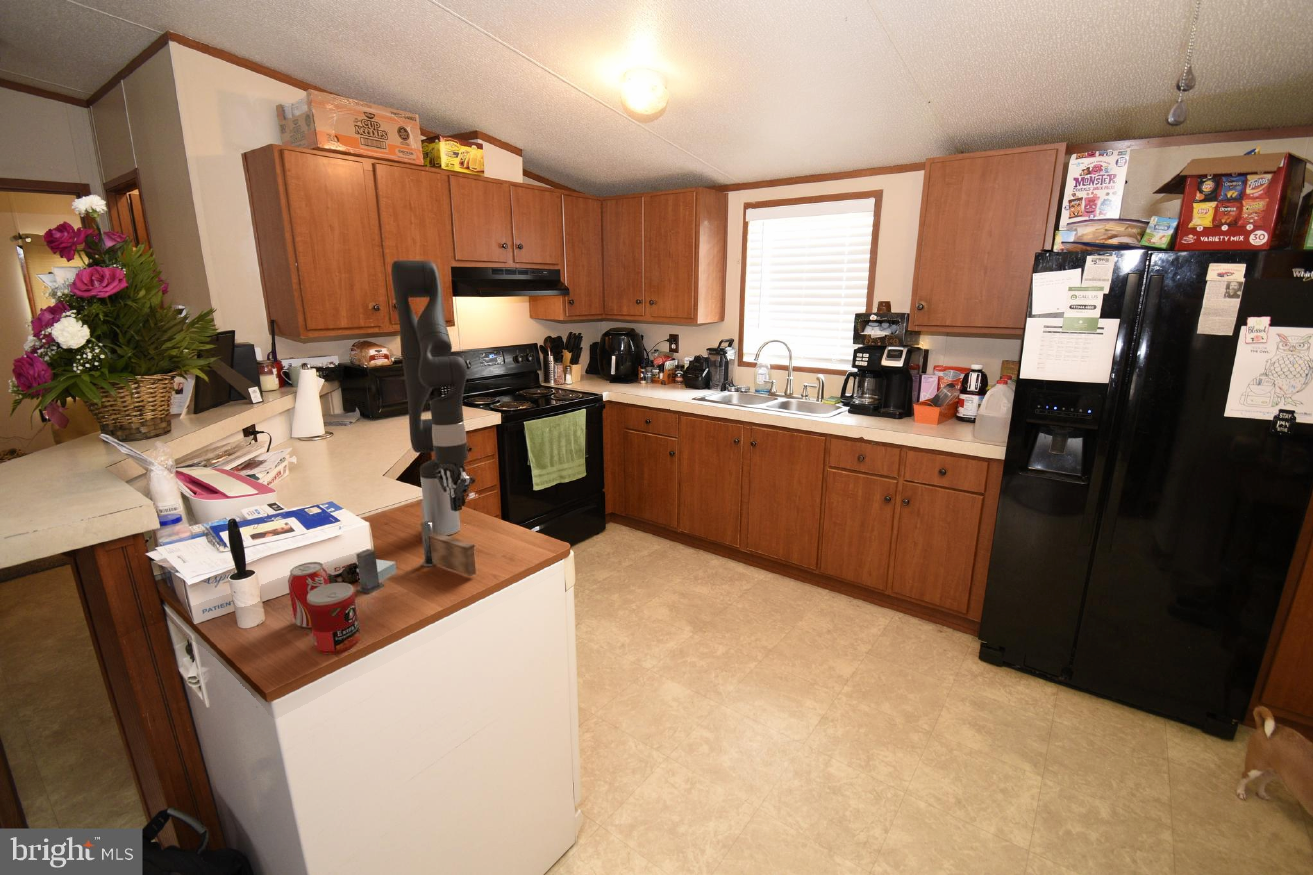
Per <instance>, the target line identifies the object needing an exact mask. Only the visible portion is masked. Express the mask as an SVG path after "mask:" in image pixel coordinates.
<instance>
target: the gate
mask: <svg viewBox="0 0 1313 875" xmlns="http://www.w3.org/2000/svg"><path fill="white" fill-rule="evenodd" d="M428 538H430V546H431V555H432V563H434V564H437V565H436V566H439V567H443V568H445V569H449V570H451V571H454V572H456V573H458V574H459V573H460V574H463V575H465V576H468V577H471V576H474V575H475V574H477V571H476V570H477V569H476V560H475V557H476V556H475V549H474V548H476V546H475V543H471V542H468V541H464V540H462V539H461V540H460V539H458V538H456V537H455V538H454V537H451V536H449V535H447V536H445V535H442V534H439V533H433V534H431V535H428Z"/></svg>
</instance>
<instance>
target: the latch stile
mask: <svg viewBox="0 0 1313 875" xmlns="http://www.w3.org/2000/svg"><path fill="white" fill-rule="evenodd" d="M355 556H356V561H357V569H358V571H359V578H360V580H359V584H360V586H359V587H357V588H355V591H357V592H360V593H363V594H366V595H369V594H371V593H374V592H376V591H377V590H379V589H381V588H384V587H385V583H381V582H380V583H379V578H378V570H377V563H376V559H377V558H376V551H375V550H373V549H369V548H367V549H365V550H362V551H360V552H357V553H356V554H355Z"/></svg>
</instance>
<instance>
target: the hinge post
mask: <svg viewBox="0 0 1313 875" xmlns="http://www.w3.org/2000/svg"><path fill="white" fill-rule="evenodd" d="M420 527H421V528H420V531H421V537H422V546H423V547H422V548H423V555H424V561H423V562H422V563H421V564H422V566H423V567H425V568H430V567H435V566H438V565H437V564H434V563H432V555H431V546H430V538H428V535H431V534H433V527H432V521H424V522H423V521H422V522H420Z"/></svg>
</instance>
